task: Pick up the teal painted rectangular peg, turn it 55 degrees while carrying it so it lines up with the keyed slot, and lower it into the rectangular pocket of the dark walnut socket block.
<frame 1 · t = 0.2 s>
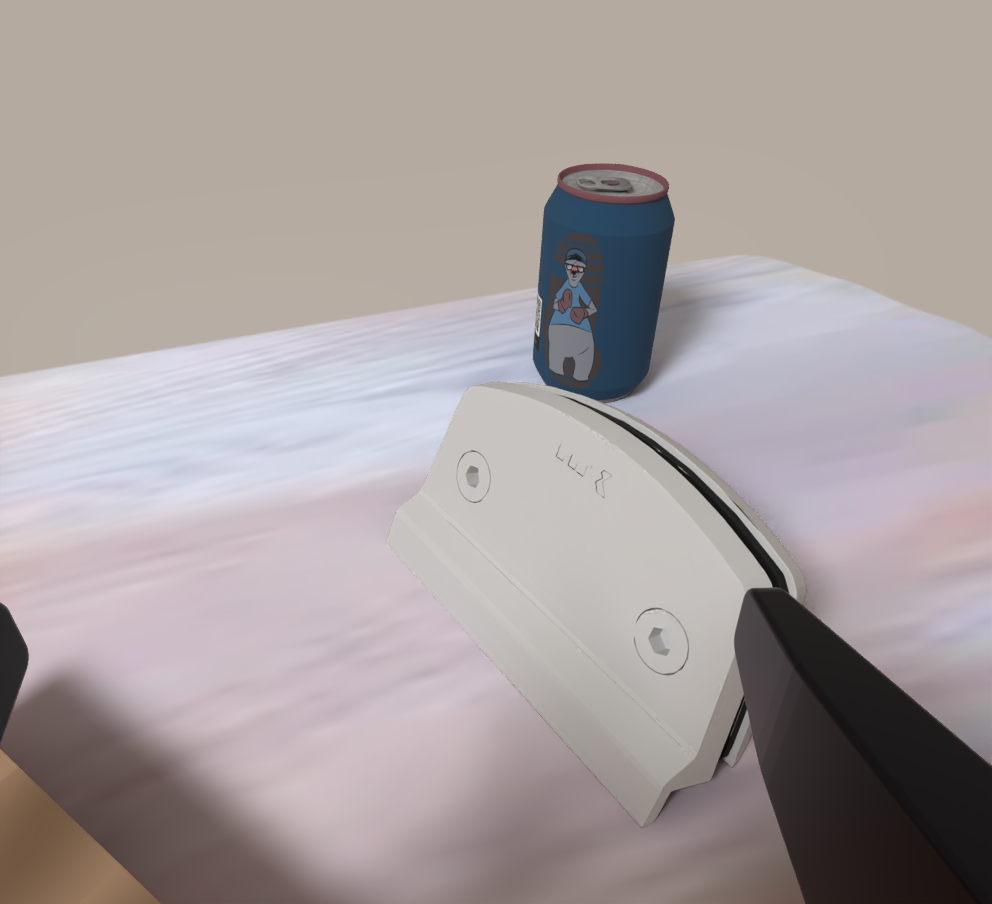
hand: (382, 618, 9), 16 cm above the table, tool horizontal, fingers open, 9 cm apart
soda can: (587, 381, 47), on the table
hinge: (567, 622, 31), on the table
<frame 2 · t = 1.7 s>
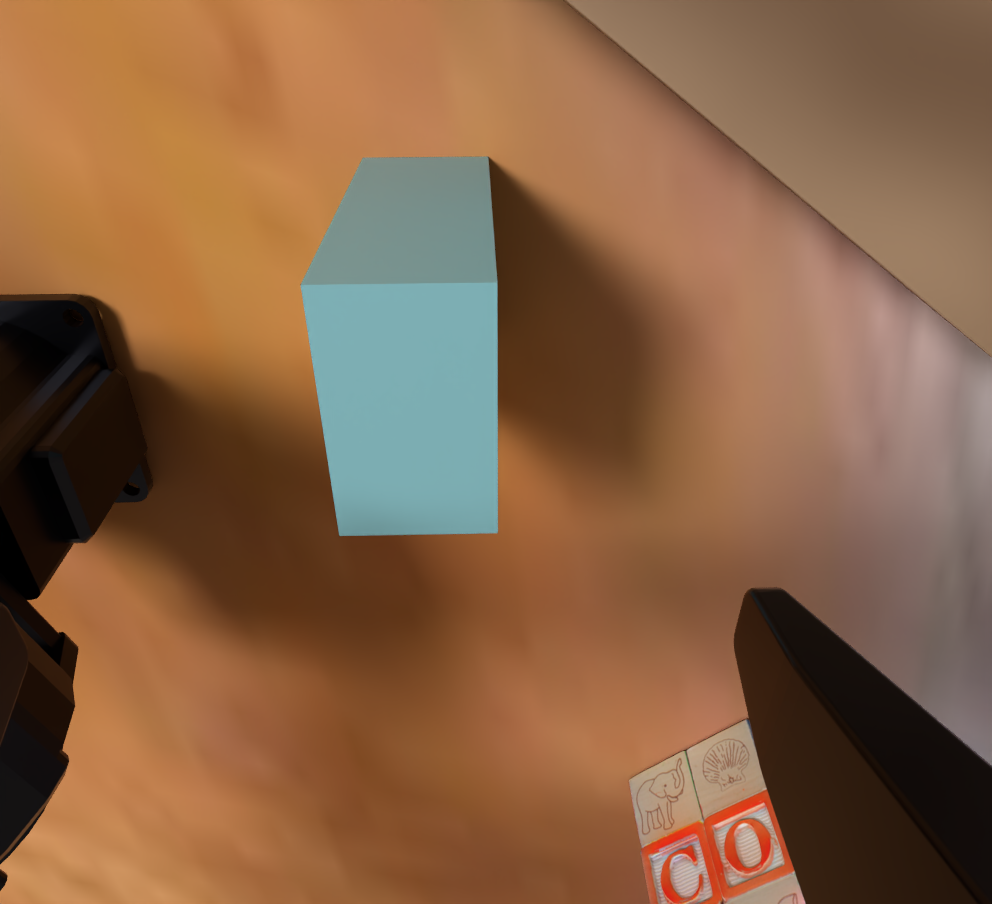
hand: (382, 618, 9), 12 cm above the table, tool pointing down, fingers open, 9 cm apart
keyed peg: (430, 258, 20), on the table
stack of blocks: (807, 838, 37), on the table
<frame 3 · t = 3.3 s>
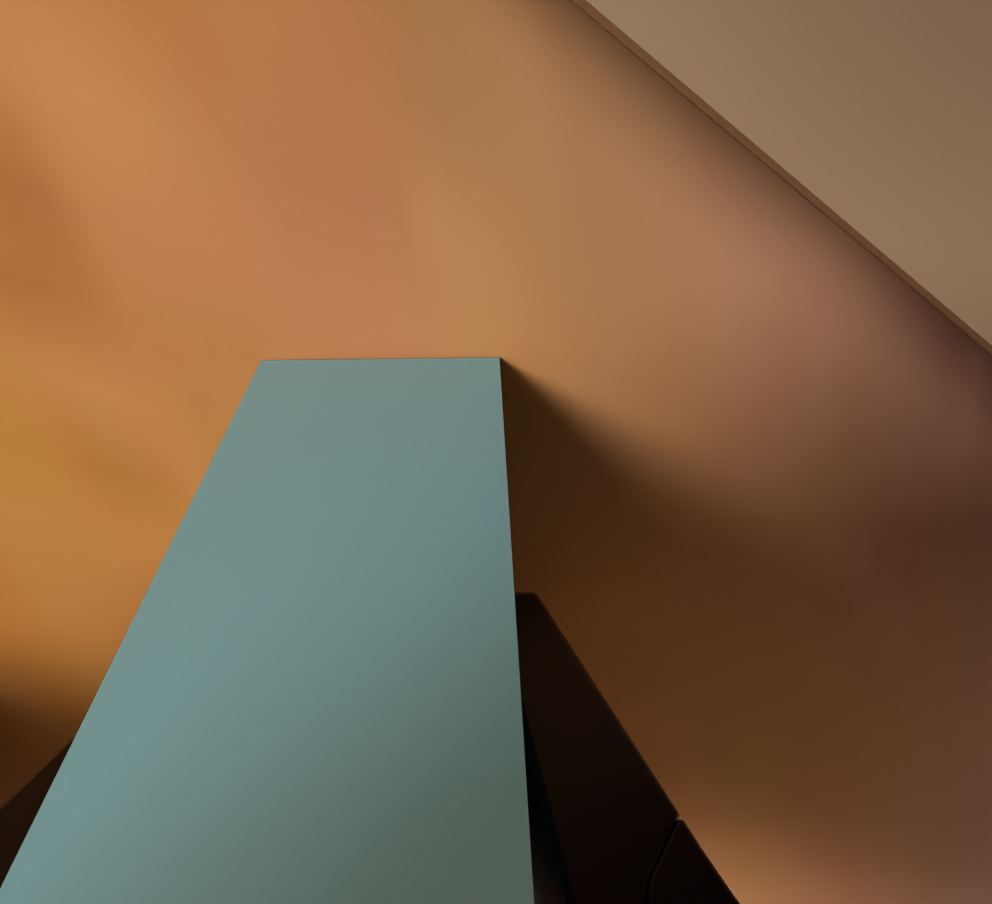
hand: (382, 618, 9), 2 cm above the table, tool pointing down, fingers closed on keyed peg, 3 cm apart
keyed peg: (395, 513, 11), on the table, touching gripper
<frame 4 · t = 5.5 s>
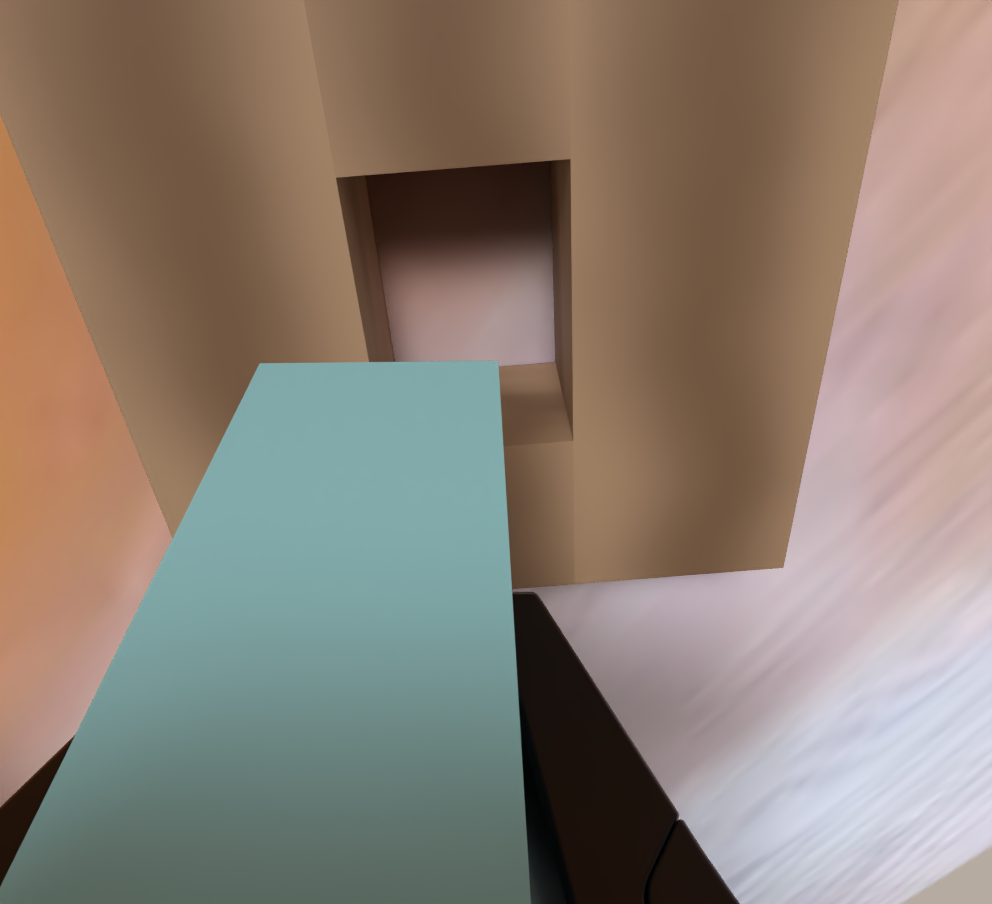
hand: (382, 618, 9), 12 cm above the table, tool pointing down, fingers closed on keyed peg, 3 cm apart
keyed peg: (394, 516, 11), point 10 cm above the table, touching gripper
socket block: (465, 257, 20), on the table
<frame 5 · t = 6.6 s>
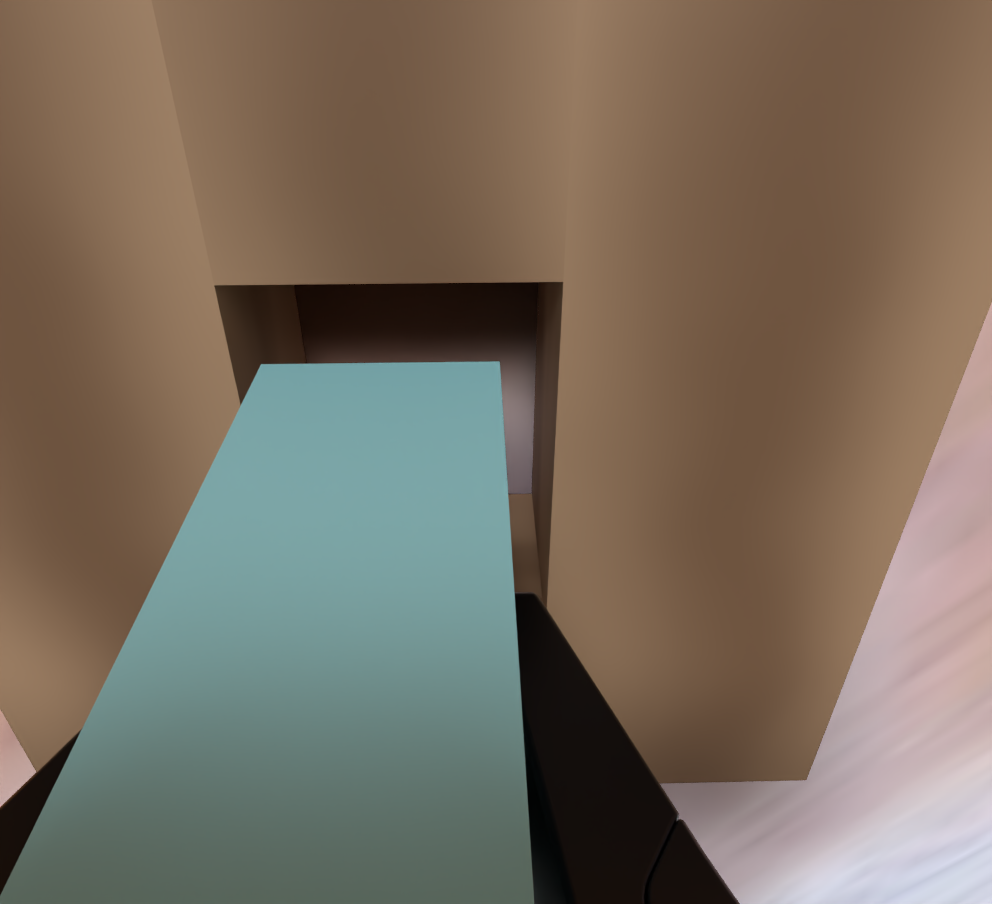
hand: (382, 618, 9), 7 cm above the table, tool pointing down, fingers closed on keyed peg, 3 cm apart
keyed peg: (395, 517, 11), point 5 cm above the table, touching gripper
socket block: (421, 363, 15), on the table
when the fingers open (5 cm above the table, at t = 7.6 s): keyed peg drops 3 cm, resting in socket block.
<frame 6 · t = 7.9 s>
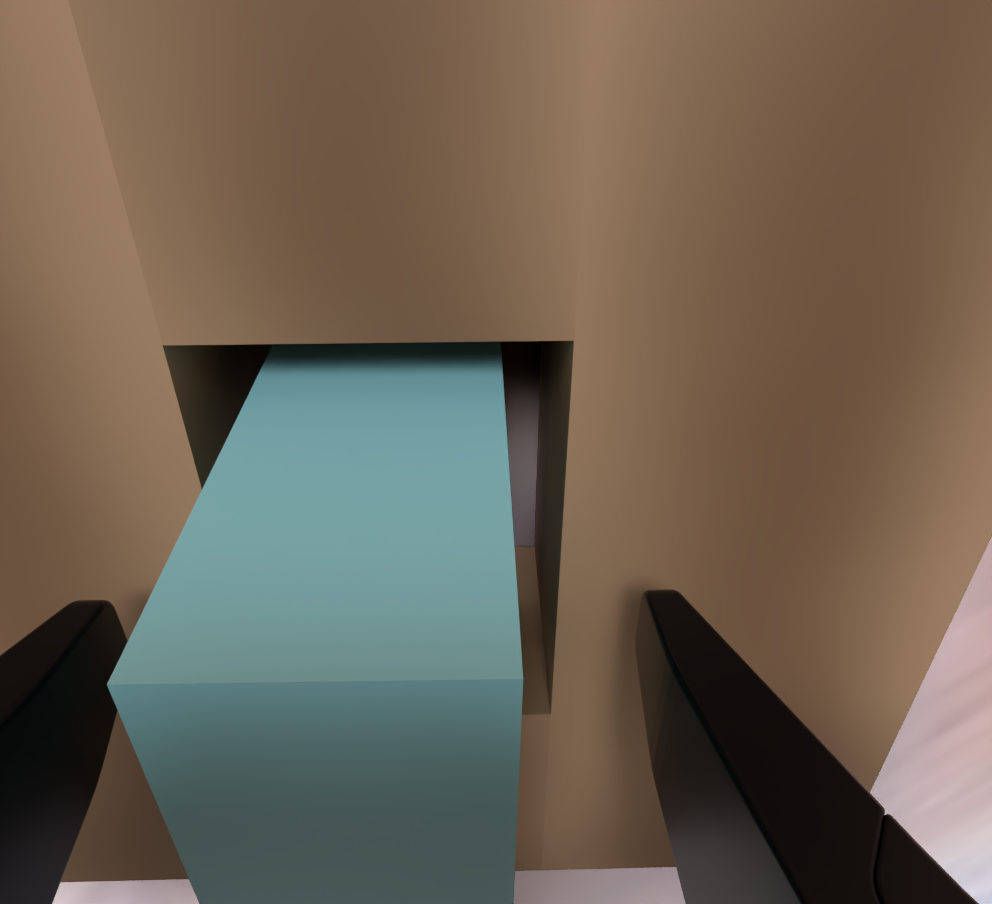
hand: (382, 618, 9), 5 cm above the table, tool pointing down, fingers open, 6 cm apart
keyed peg: (410, 409, 14), resting in socket block
socket block: (412, 409, 13), on the table
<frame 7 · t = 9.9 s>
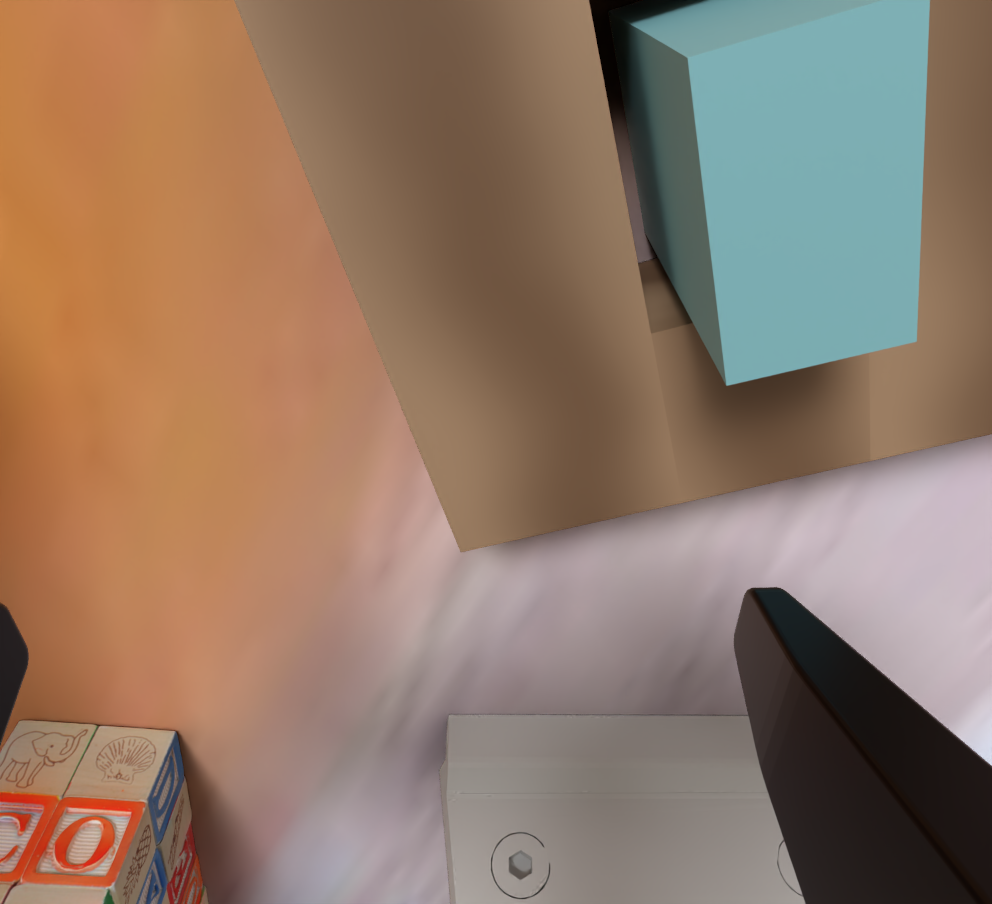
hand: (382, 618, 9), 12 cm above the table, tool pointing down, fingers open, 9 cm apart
keyed peg: (691, 111, 18), resting in socket block
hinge: (638, 766, 32), on the table
stack of blocks: (137, 858, 36), on the table
socket block: (693, 110, 18), on the table
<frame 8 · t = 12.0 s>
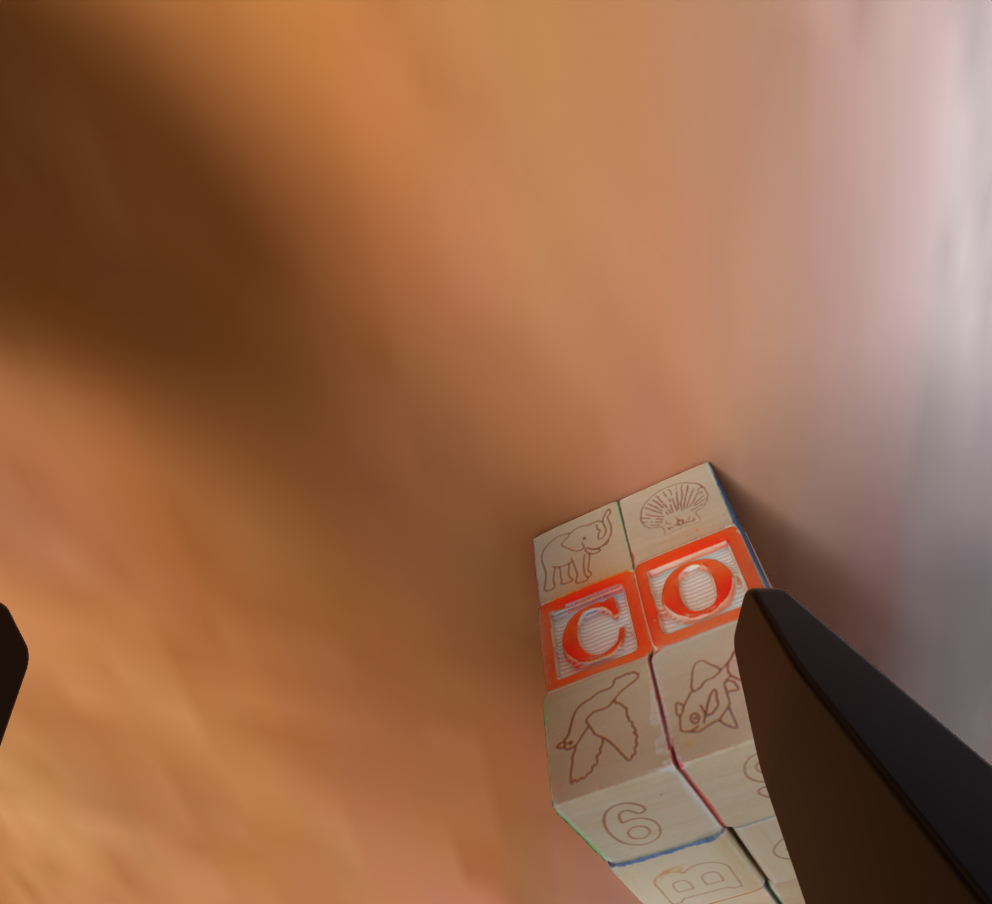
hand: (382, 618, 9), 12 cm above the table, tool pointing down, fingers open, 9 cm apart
stack of blocks: (727, 682, 29), on the table
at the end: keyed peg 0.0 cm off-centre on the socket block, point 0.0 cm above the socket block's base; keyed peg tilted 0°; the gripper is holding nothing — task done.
